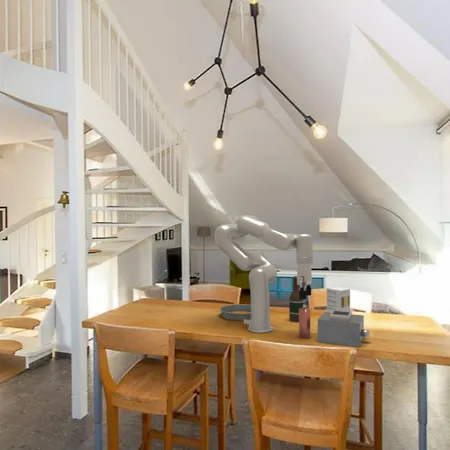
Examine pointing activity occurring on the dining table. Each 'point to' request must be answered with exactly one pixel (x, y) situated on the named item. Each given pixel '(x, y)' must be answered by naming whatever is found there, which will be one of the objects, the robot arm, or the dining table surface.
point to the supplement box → (338, 299)
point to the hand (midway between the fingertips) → (305, 297)
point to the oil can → (304, 322)
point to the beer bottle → (295, 302)
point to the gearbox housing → (341, 328)
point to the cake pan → (236, 308)
